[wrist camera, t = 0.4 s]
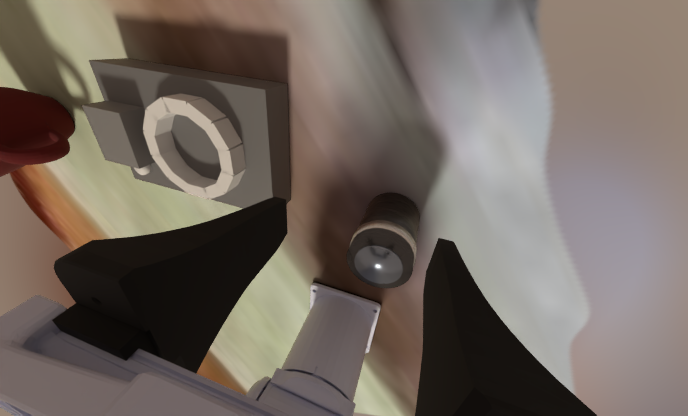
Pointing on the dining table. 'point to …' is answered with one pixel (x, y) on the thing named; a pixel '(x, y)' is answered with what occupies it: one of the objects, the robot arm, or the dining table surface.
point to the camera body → (194, 129)
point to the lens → (385, 242)
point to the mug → (31, 129)
